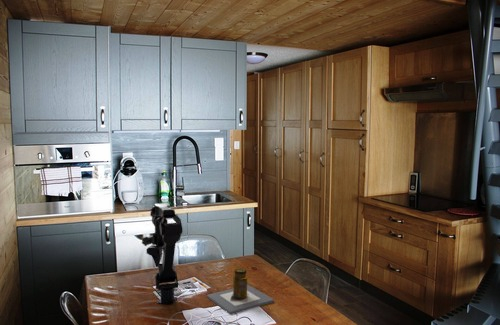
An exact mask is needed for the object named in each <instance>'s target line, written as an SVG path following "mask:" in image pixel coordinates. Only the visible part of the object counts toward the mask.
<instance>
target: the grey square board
mask: <svg viewBox="0 0 500 325" xmlns="http://www.w3.org/2000/svg"><path fill="white" fill-rule="evenodd" d="M232 293H233V288H229V289H226V290H222V291H218V292H214V293H213V292H212V293H210V294H206V298H207V299H208V300H211V302H213V303H214V304H215V305H216V306H218V307H220V309H222V310H224V311H225V312H226V311H227V312H226V313H228V314H229V315H232V313H233V314H236V312H237V313H239V312H243V310H244V311H246V310H250V308H251V309H254V308H257V307H261V306H264V305H268V304H271V303H274V302H275V299H274V298H272V297H270V296H269V295H267V294H266V293H264V292H261V291H260V290H258V289H257V288H255V287H253V286H251V285H249V284H247V294H249V295H248V300H247V302H242V301H241V302H240V301H230V299H231V296H232Z"/></svg>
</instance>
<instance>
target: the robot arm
mask: <svg viewBox="0 0 500 325" xmlns="http://www.w3.org/2000/svg"><path fill="white" fill-rule="evenodd" d="M170 207H171V206H170V205H169V203H167V202H163V203H162V202H161V203H153V206H151V209H150V213H149V214H150V217H151V222H152V225H153V226H154V233H152V235H150V236H144V237H142V239H141V244H142V245H143V246H145V247H147V246H148V245H150V246H148V247H147V248H146V254H147V255H149V256H151V257H152V259H153V262H154V265H155V268H157V272H156V273H155V277H154V280H155V282H154V283H155V290H158V291H160V299H158V301H157V304H163V305H173V304H174V302H176V300H178V297H175V289H177V288H179V280H178V274H177V270H176V268H175V266H174V259H175V252H176V244H177V243H178V242H179V241H180V240H181V236H182V234H183V225H182V220H181V218H180V217H179V216H178V215H177V214H176V212H175V211H176V210H175V209H174V208H170ZM169 219H172V220H173V221H174V222H168V221H169ZM161 261H162V263H161Z"/></svg>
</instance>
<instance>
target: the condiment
mask: <svg viewBox="0 0 500 325" xmlns="http://www.w3.org/2000/svg"><path fill="white" fill-rule="evenodd" d="M233 272H234V273H233V274H234V275H233V285H232V286H233V288H232V289H233V293H232V296H231V299H230V301H240V302H241V301H242V302H247V300H248V295H249V294H247V285H248V276H247V269H245V268H241V267H240V268H236V269H234V271H233Z"/></svg>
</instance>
